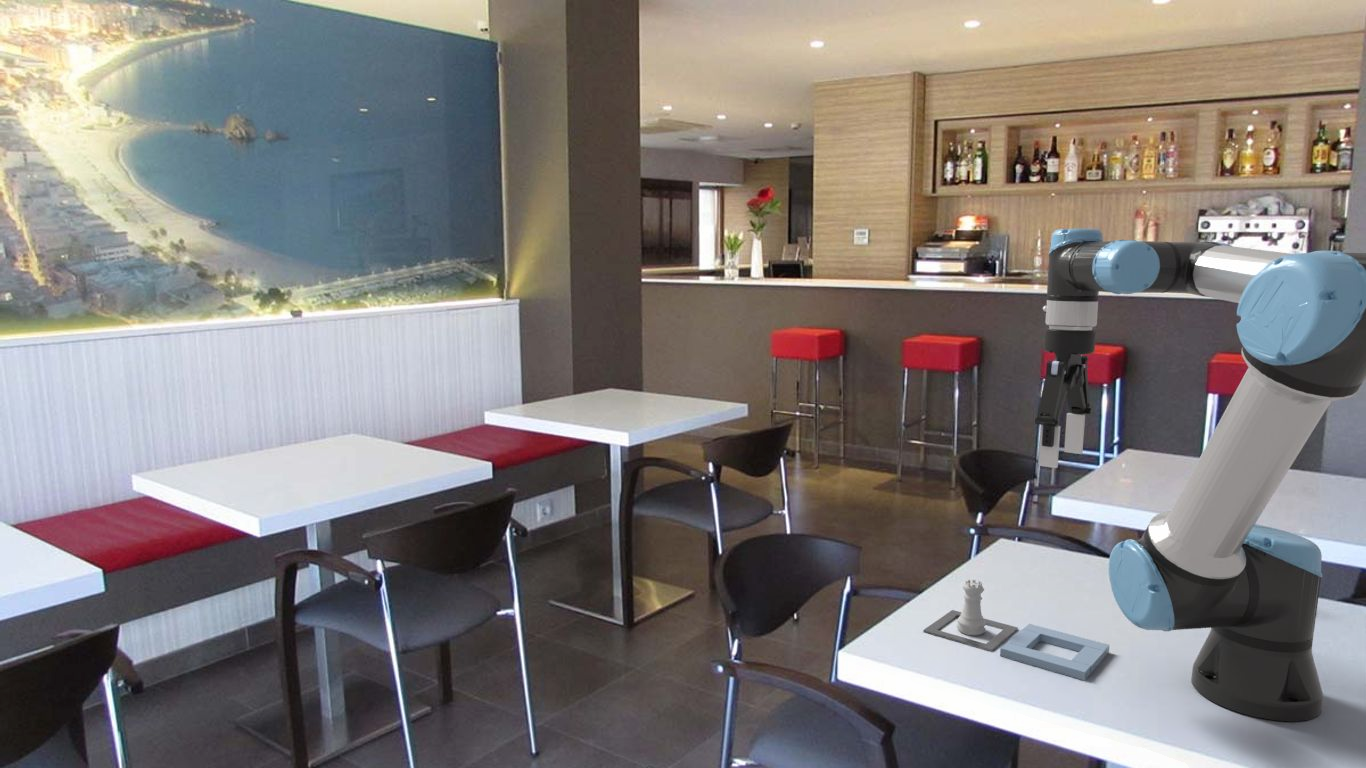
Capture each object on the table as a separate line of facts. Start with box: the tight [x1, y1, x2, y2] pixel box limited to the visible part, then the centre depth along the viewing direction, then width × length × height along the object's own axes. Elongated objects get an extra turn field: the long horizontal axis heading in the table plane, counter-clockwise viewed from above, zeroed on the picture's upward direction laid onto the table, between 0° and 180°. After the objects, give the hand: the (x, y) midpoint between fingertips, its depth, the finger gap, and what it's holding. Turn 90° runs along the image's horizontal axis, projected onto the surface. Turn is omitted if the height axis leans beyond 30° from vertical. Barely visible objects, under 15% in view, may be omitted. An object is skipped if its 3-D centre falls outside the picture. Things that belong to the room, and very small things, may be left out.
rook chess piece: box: [956, 579, 986, 637], centre depth 145 cm, size 4×4×8 cm
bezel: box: [922, 609, 1019, 652], centre depth 146 cm, size 11×11×1 cm
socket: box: [999, 623, 1110, 681], centre depth 138 cm, size 12×12×1 cm
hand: (1061, 459), depth 148 cm, fingers open, 13 cm apart
